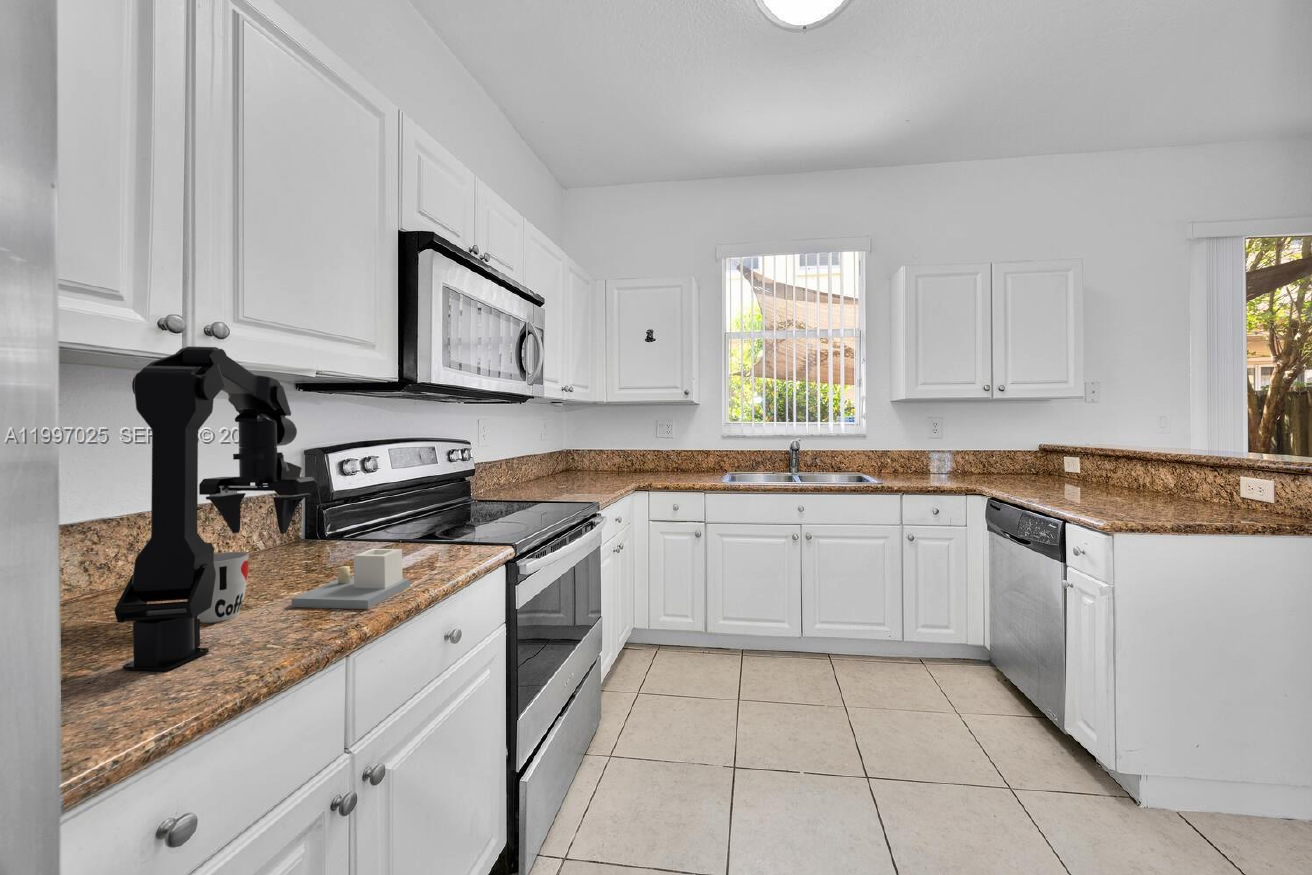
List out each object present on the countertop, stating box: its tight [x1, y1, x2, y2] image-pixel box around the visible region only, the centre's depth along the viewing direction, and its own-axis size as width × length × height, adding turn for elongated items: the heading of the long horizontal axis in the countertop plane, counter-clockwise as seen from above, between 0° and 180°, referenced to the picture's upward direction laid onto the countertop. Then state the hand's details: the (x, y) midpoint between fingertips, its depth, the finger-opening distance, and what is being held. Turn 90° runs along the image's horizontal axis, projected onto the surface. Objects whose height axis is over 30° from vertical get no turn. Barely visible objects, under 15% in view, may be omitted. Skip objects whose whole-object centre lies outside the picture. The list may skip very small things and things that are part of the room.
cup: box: [198, 551, 250, 624], centre depth 94 cm, size 8×8×10 cm
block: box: [353, 548, 403, 589], centre depth 108 cm, size 6×6×6 cm
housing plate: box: [290, 565, 411, 610], centre depth 106 cm, size 14×14×4 cm
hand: (259, 533), depth 104 cm, fingers open, 9 cm apart
